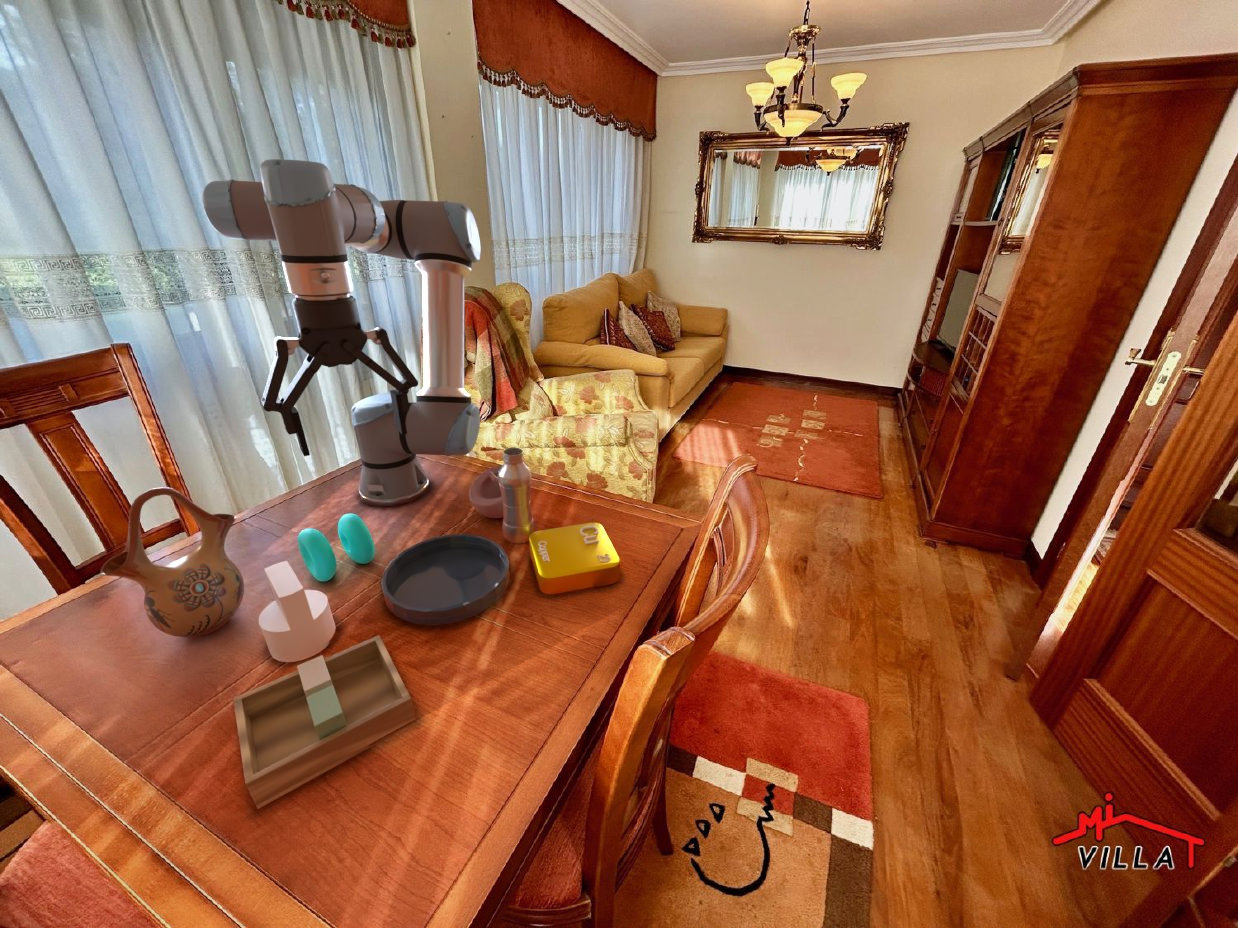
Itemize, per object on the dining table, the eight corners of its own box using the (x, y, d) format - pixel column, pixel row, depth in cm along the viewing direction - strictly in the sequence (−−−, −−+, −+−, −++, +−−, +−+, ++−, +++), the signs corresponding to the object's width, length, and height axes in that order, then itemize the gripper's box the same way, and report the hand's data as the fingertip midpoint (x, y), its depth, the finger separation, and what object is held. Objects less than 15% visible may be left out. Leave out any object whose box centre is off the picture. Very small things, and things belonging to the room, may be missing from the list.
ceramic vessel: (248, 586, 88) (199, 459, 77) (279, 603, 85) (233, 473, 74) (133, 649, 75) (55, 507, 64) (165, 673, 72) (87, 527, 60)
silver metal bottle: (529, 550, 100) (523, 460, 91) (497, 545, 101) (489, 456, 92) (540, 532, 106) (536, 446, 97) (510, 527, 107) (503, 442, 98)
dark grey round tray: (369, 576, 92) (365, 561, 90) (479, 536, 104) (477, 522, 102) (408, 648, 77) (405, 631, 75) (531, 591, 89) (530, 576, 88)
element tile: (528, 549, 100) (527, 529, 98) (600, 537, 105) (600, 518, 103) (541, 598, 88) (540, 577, 86) (622, 583, 92) (623, 562, 90)
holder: (244, 721, 65) (233, 697, 63) (384, 657, 75) (379, 634, 73) (257, 809, 56) (245, 784, 54) (416, 721, 66) (411, 698, 64)
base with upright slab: (344, 640, 78) (327, 579, 73) (278, 672, 72) (254, 609, 67) (325, 610, 84) (308, 551, 78) (263, 637, 78) (239, 576, 73)
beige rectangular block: (308, 696, 68) (296, 665, 65) (332, 685, 70) (322, 654, 67) (315, 723, 65) (304, 691, 62) (341, 710, 66) (330, 679, 64)
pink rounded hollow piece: (460, 514, 111) (454, 468, 106) (504, 495, 119) (500, 451, 114) (493, 535, 104) (489, 488, 99) (537, 513, 112) (535, 468, 107)
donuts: (381, 568, 94) (371, 523, 89) (325, 594, 87) (311, 547, 83) (358, 545, 100) (348, 503, 95) (303, 568, 93) (289, 523, 89)
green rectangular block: (317, 728, 64) (305, 696, 61) (343, 716, 66) (332, 684, 63) (326, 758, 61) (314, 726, 58) (353, 744, 62) (342, 712, 60)
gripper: (208, 307, 57) (262, 472, 66) (427, 293, 71) (445, 431, 80) (204, 298, 62) (255, 453, 71) (409, 287, 76) (428, 417, 86)
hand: (356, 441), depth 76 cm, fingers open, 13 cm apart
